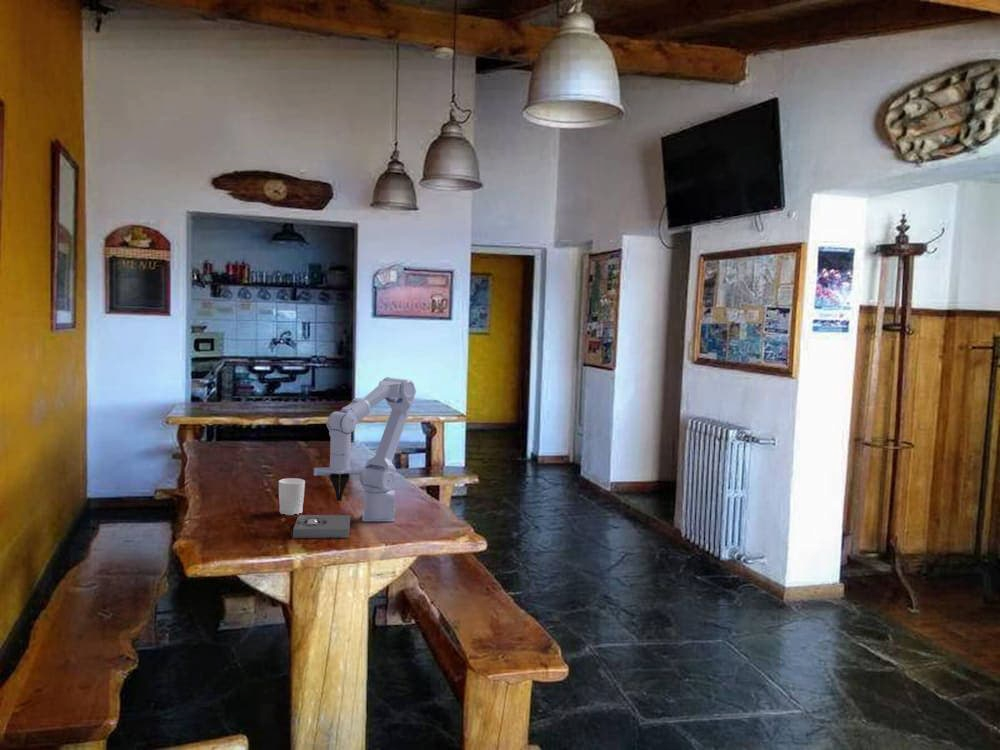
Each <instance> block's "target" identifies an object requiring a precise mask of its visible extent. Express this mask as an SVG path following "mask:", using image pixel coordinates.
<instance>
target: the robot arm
mask: <svg viewBox="0 0 1000 750" xmlns="http://www.w3.org/2000/svg"><path fill="white" fill-rule="evenodd" d="M416 393H417V390H416V387H415V384H414V382H413V381H412V380H411V379H402V378H395V377H389V376H386V377H385V378H383V379H382V380H380V381H379V382H378V385H377V386H376V387H375V388H374V389H373V390H371V391H370V393H368V394H367V395H366V396H364V397H363V398H360V397H358V398H353V399H352V402H350V403H349V404H347V405H346V406H343V407H342V408H341V410H340V411H333V412H332V413H330V414H329V416H328V418H327V421H326V423H325V424H326V427H327V429H328V431H329V432H328V434H329V437H330V443H329V444H330V449H329V450H330V451H329V453H330V454H329V455H330V456H329V466H327V467H314V468H313V476H316V477H317V476H330V477H329V479H330V481H331V484H332V486H333V489H334V493H335V496H336V501H338V502H341V501H342V500H343V499H342V498H343V494H344V492H345V491H344V490H345V488H346V486H347V483H348V482H349V479H350V476H359V483H360V485H361V486H362V489H363V490H364V499H363V500H364V503H363V506H364V507H363V513H362V517H361V519H362V522H394V521H395V515H396V508H395V499H396V498H395V497H396V493H395V491H396V490H393V489H392V488H393V486H394V484H395V479H396V478H395V476H396V472H397V469H396V467H395V465H394V463H392V462H393V459H394V456H395V454H396V452H397V451H396V450H397V447H398V445H399V443H400V440H401V437H402V434H403V432H404V428H405V426H406V423H407V420H408V417H409V414H410V411H411V407H412V404H413V402H414V399H415V396H416ZM384 400H385V402H386V404H387V405H388V406H389V407H390V409H391V411H390V415H389V417H388V420H387V421H386V425H385V428H384V431H383V434H382V436H381V439H380V441H379V444H378V447H377V450H376V452H375V455H374V457H372V458H371V459H369V460H367V461H366V463H365V465H364V467H354V466H353V467H352V466H351V452H352V446H351V445H352V441H351V440H352V433H353V432H354V430H355V429H356V426H357V425H358V423H359V422H360V421H361V420H363V419H364V418H365V417H367V416H368V415H369V414H370V412H371V408H372V407H374V406H376V405H378V404H379V403H381V402H382V401H384ZM391 489H392V490H391Z"/></svg>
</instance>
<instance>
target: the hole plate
mask: <svg viewBox="0 0 1000 750" xmlns="http://www.w3.org/2000/svg"><path fill="white" fill-rule="evenodd" d="M309 519H316V520H317V521H318V524H307V521H308V520H309ZM350 527H351V515H350V514H340V515H339V514H334V515H333V514H298V516H297V519H296V522H295V523H294V526H293V529H292V539H349V535H350V530H351V529H350ZM330 537H331V538H330ZM333 537H334V538H333ZM338 537H339V538H338Z"/></svg>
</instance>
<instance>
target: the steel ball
mask: <svg viewBox="0 0 1000 750" xmlns="http://www.w3.org/2000/svg"><path fill="white" fill-rule="evenodd" d="M307 524H318V521H317V520H316V519H309V520H308V521H307Z"/></svg>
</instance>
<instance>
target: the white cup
mask: <svg viewBox="0 0 1000 750" xmlns="http://www.w3.org/2000/svg"><path fill="white" fill-rule="evenodd" d="M305 484H306V480H305V479H302V478H297V477H296V478H295V477H291V478H288V477H287V478H283V479H280V480H278V499H279V500H278V502H279V503H278V504H279V513H280V515H283V514H285V515H284V516H295V515H294V514H297V515H300V514H299V513H301V514H302V513H303V506H304V498H305Z"/></svg>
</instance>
